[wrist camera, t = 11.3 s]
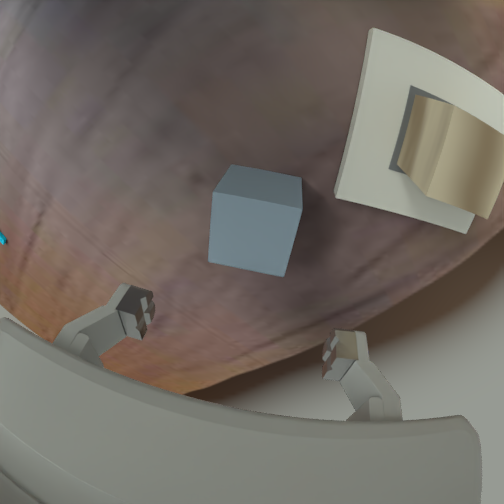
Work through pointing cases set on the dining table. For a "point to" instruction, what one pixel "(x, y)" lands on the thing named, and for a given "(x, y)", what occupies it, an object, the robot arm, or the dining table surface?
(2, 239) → the gear mechanism
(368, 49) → the plate
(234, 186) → the slate blue block
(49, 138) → the dining table surface
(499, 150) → the maple block
